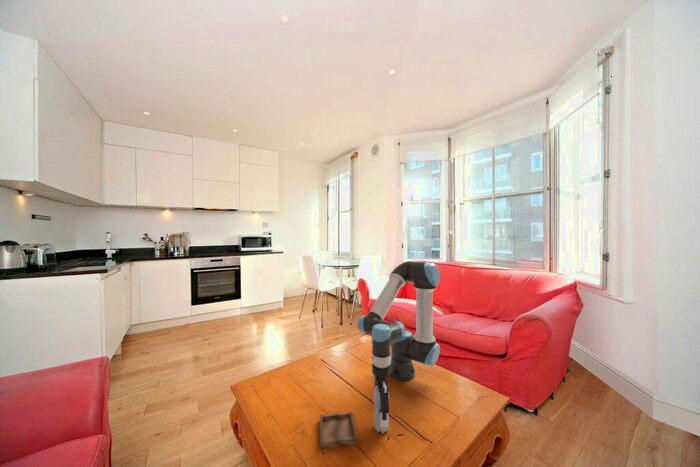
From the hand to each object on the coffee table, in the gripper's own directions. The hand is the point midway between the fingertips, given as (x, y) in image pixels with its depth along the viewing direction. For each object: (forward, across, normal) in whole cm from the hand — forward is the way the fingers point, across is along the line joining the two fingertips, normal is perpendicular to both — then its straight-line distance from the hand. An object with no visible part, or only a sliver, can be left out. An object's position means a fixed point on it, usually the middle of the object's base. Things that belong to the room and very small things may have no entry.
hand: (381, 419), depth 101 cm
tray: (+4, -1, -18) cm, 18 cm away
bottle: (+4, 0, 0) cm, 4 cm away
